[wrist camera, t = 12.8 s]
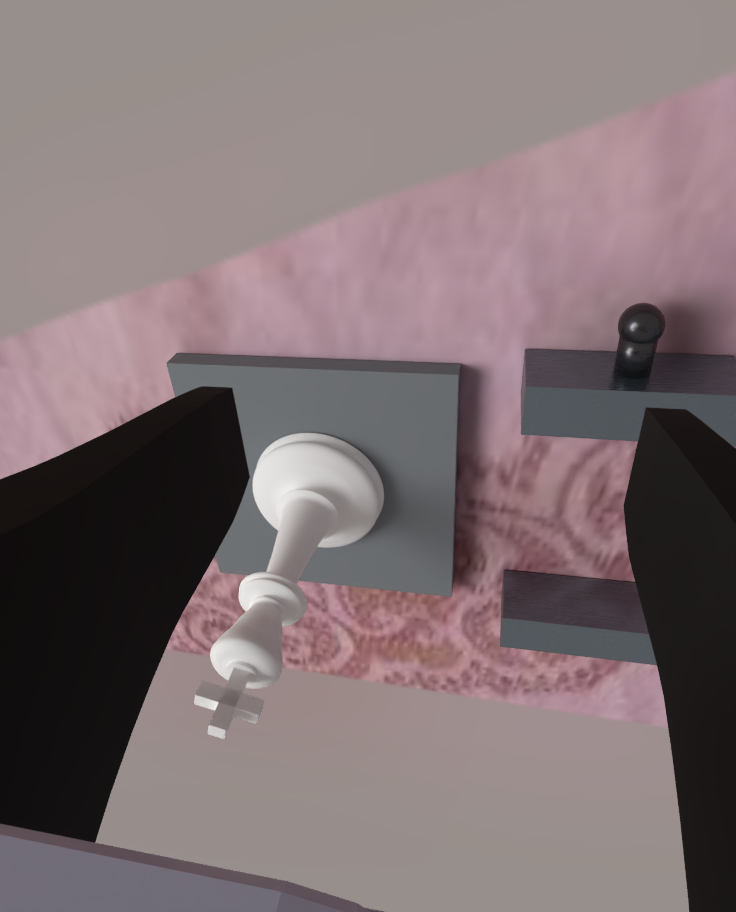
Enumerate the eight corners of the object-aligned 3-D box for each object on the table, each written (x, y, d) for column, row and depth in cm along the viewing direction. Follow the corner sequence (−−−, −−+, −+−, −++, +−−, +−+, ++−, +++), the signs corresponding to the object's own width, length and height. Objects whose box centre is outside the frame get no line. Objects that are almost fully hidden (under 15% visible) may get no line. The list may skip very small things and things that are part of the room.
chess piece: (367, 552, 25) (295, 806, 17) (249, 515, 25) (122, 751, 17) (399, 456, 22) (331, 709, 14) (264, 414, 22) (121, 641, 14)
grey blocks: (752, 290, 18) (782, 325, 16) (655, 614, 25) (668, 666, 23) (530, 286, 19) (532, 319, 17) (501, 598, 26) (500, 646, 24)
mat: (460, 363, 21) (458, 375, 20) (453, 582, 26) (451, 596, 26) (176, 353, 22) (166, 363, 22) (226, 559, 28) (220, 572, 27)
